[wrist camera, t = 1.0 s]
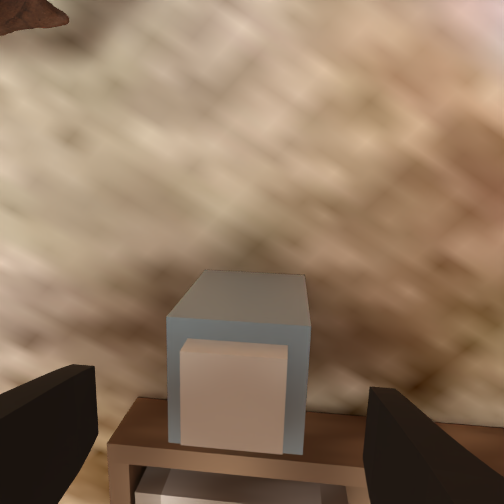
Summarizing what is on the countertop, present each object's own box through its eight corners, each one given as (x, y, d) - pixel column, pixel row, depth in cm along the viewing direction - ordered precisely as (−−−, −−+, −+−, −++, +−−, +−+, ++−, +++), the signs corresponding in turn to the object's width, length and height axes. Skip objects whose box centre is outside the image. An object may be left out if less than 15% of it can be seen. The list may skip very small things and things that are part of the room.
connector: (304, 274, 16) (312, 338, 10) (299, 366, 17) (303, 476, 11) (205, 269, 16) (156, 328, 10) (204, 359, 17) (159, 461, 11)
